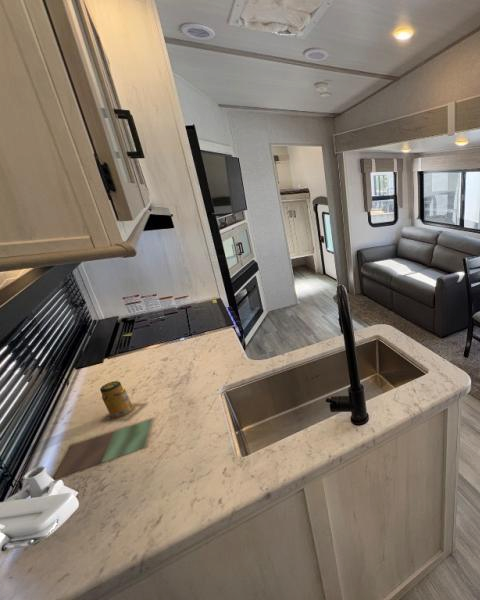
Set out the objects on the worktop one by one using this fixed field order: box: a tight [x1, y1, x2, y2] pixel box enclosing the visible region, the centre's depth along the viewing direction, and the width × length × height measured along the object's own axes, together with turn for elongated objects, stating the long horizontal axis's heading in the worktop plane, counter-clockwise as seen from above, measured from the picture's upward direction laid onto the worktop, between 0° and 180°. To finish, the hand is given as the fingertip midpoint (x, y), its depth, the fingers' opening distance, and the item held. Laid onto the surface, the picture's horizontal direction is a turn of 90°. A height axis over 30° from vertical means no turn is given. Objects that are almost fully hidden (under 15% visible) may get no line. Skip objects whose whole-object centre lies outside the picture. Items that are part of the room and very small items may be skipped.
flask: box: [22, 465, 79, 498], centre depth 67 cm, size 7×7×10 cm
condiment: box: [99, 380, 134, 419], centre depth 106 cm, size 7×8×12 cm
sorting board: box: [52, 419, 152, 481], centre depth 94 cm, size 20×14×1 cm
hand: (47, 483), depth 67 cm, fingers closed on flask, 3 cm apart
